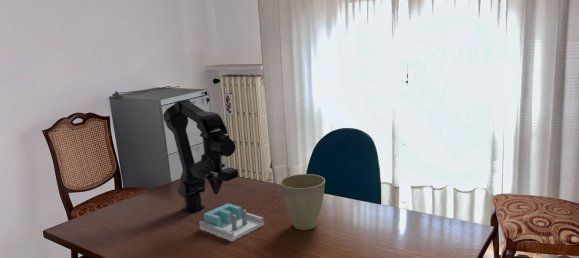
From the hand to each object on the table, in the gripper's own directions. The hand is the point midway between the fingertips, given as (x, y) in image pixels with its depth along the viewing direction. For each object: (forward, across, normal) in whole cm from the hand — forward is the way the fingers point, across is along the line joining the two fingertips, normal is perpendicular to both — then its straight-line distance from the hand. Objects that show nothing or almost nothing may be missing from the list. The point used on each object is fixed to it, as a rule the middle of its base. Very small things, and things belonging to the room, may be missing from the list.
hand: (216, 193), depth 157 cm
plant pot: (+10, +27, +15) cm, 33 cm away
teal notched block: (+9, +3, 0) cm, 10 cm away
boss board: (+11, +7, 0) cm, 13 cm away
